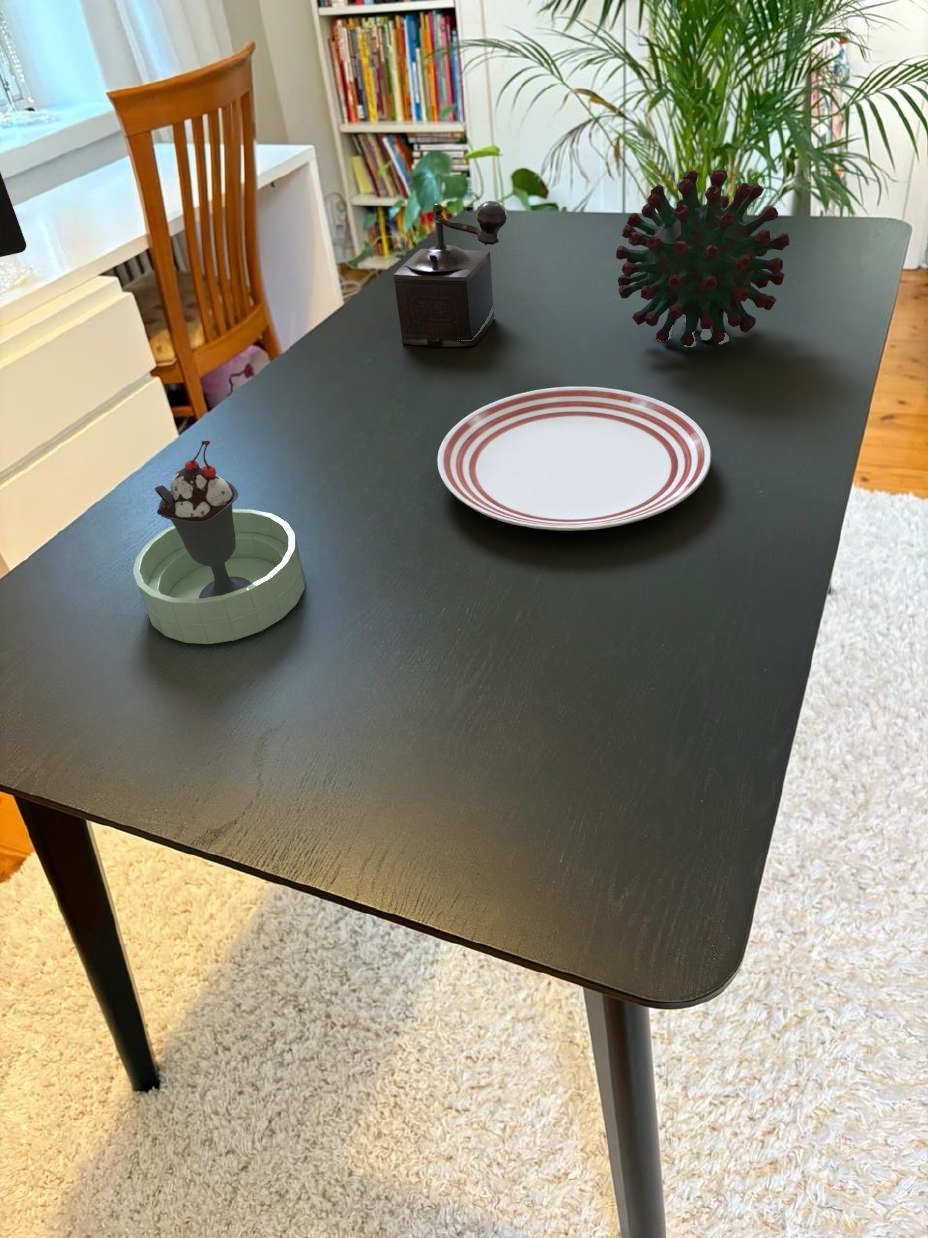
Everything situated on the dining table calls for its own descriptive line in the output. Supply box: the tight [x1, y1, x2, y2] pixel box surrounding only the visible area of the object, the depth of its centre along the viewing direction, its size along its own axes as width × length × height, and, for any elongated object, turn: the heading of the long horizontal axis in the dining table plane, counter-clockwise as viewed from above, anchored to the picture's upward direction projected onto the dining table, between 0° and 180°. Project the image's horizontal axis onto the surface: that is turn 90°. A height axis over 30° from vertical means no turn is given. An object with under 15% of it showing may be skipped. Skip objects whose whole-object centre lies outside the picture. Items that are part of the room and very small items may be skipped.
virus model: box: [615, 169, 790, 346], centre depth 117 cm, size 20×20×20 cm
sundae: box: [154, 440, 252, 599], centre depth 84 cm, size 7×7×15 cm
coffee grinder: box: [393, 200, 508, 348], centre depth 126 cm, size 16×11×18 cm
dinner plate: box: [437, 386, 712, 532], centre depth 99 cm, size 27×27×3 cm
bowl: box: [132, 508, 306, 645], centre depth 87 cm, size 14×14×5 cm
